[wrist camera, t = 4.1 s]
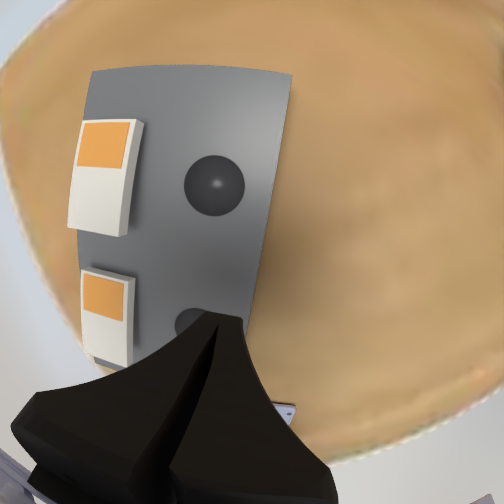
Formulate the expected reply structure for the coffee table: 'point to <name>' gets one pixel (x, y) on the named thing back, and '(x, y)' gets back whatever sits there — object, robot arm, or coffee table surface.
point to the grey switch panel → (190, 191)
